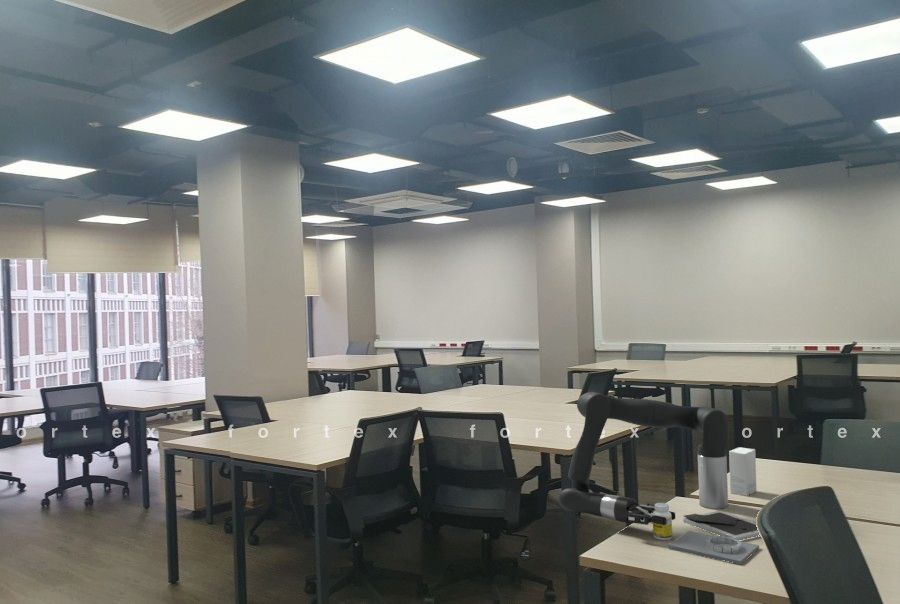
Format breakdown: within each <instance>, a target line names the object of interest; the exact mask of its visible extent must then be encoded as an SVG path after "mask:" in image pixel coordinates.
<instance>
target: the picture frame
mask: <svg viewBox="0 0 900 604" xmlns="http://www.w3.org/2000/svg"><path fill="white" fill-rule="evenodd" d="M682 520H683V522H684V524H686V523H687V524H686V525H689V524H690V525H689V526H691V525H693V526H692V527H694V526H696V527H699V528H701V529H700V530H702V529H704V530H706V531H705V532H707V531H709V532H712V533H715V534H718V535H720V536H724V537H730V538H734V539H737V540H743V539H747V538H751V537H756V536H757V537H758V535H759V532H758V530H757V527H756V523H757V522H755V521H752V520H749V519H747V518H744V517H740V516H737V515H735V514H731V513H730V512H729V513H728V512H726V511H723V510H721V509H719V510H715V511H711V512H706V513H702V514H699V513H693V514H692V513H690V514H685V515H683V519H682ZM696 527H695V528H696ZM699 528H698V529H699ZM704 530H703V531H704ZM709 532H708V533H709ZM712 533H711V534H712ZM759 536H760V535H759ZM758 538H759V537H758Z"/></svg>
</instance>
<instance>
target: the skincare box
mask: <svg viewBox="0 0 900 604" xmlns="http://www.w3.org/2000/svg"><path fill="white" fill-rule="evenodd" d="M728 452H729V453H728V455H729V456H728V458H729V462H728V463H729V491H730V492H731V493H730V494H733V493H734V494H733V495H738V494H740V495H739V496H743V495H746V496H745V497H748V496H750V495H752V494H755V493H757V469H756V468H757V465H756V464H757V463H756V461H757V460H756V449H755V448H748V447H747V448H746V447H741V446H740V447H736V448H734V449H732V450H729V451H728ZM751 493H752V494H751ZM749 494H750V495H749ZM747 495H748V496H747Z"/></svg>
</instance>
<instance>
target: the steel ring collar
mask: <svg viewBox="0 0 900 604" xmlns="http://www.w3.org/2000/svg"><path fill="white" fill-rule="evenodd" d="M713 536H714V537H709V538H708V539H706V545H707V548H709V549H711V550H713V551H716V552H720V553H722V552H723V553H737V552H740V551H741V550H742V544H741V542H740V541H739V540H737V539H734V538H730V537H724V536H717V535H713ZM713 543H728V544H732V545H734V546H730V547H729V546H719V545H715V544H713Z"/></svg>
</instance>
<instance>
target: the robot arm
mask: <svg viewBox="0 0 900 604" xmlns="http://www.w3.org/2000/svg"><path fill="white" fill-rule="evenodd" d="M576 407H577V410H578V412H579V413H580V415H581V416H582V417H584V419H585V420H584V425H583V429H582V430H583V431H582V433H581V436H580V438H579V441H578V442H577V444H576V446H575V448H574V451H573V453H572V455H571V456H572V457H571V460H570V465H569V469H568V474H567V475H568V478H569V480H571V487H570V488H568V487H567V488H564V489H563V490H561V491H560V492H559V495H558V500H557V501H558V503H559V505H560V507H562V509H564V510H565V511H568V512H569V511H570V512H576V513H583V514H589V515H593V516H596V517H602V518H606V519H607V520H608V519H609V520H612V521H616V522H620V523H625V524H638V525H639V524H640V525H644V526H648V525H649V524H650V525H653V522H654V523H656V524H661V525H666V524H667V520H666V517H662V516H657V515H654V516H653V512H654V511H656V510H655V504H654V503H650V502H649V503H646V505H645V504H637V501H636V500H635V499H634V498H631V497H626V496H620V495H615V494H606V493H598V492H590V476H591V473H592V468H593V464H594V459H595V456H596V451H597V450H598V449H597V448H598V446H599V442H600V440H601V436H602V433H603V430H604V428H605V426H606V424H607V420H608V419H609V420H616V421H617V420H618V421H622V422H624V423H628V424H632V425H636V426H641V427H645V428H655V429H669V428H684V429H689V430H693V431H697V432H699V433H702V443H701V444H699V445H697V472H698V476H697V477H698V497H699V498H698V501H699V502H698V503H699V505H700V506H701V507H704V508H708V509H717V510H718V509H719V510H720V509H725V508H728V507H729V493H728V492H729V491H728V490H729V489H728V467H727V466H728V465H727V464H728V463H727V461H728V460H727V450H728V448H729V441H730V439H729V438H730V437H729V436H730V435H729V433H730V424H729V420H728V417H727V415H726V413H725V412H724V411H722V410H720V409H717V408H713V407H710V406H683V405H677V404H675V403H671V402H666V401H661V400H654V399H648V398H647V399H645V398H632V397H631V398H629V397H628V398H621V397H613V396H608V395H605V394H602V393H601V392H600V393H599V392H595V391H588V392H586V393H584V394H582V395H581V396H579V398H578V399H577V402H576ZM668 511H669V512H670V513H671V516H672V521H674V520H676V512H674V511H671V510H668Z"/></svg>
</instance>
